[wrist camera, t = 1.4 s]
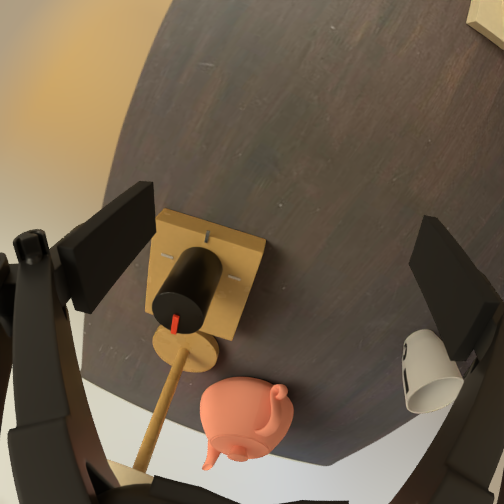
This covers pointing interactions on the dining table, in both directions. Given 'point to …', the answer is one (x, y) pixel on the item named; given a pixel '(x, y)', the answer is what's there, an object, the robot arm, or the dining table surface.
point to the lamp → (168, 391)
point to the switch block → (488, 19)
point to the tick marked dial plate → (224, 247)
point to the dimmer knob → (188, 291)
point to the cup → (428, 373)
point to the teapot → (244, 418)
